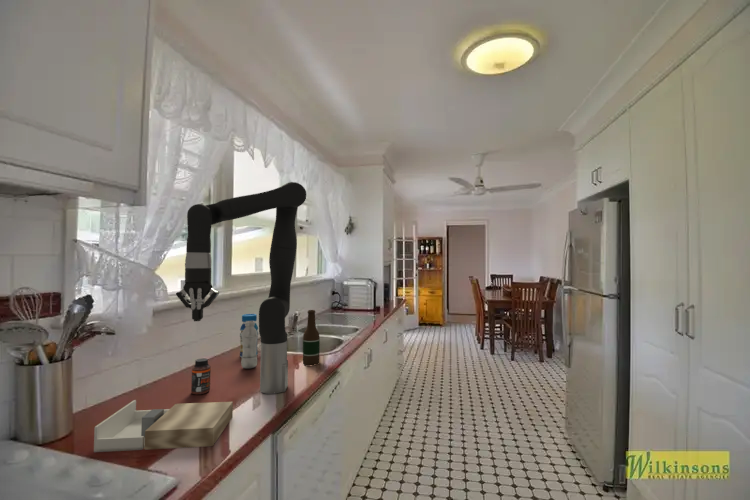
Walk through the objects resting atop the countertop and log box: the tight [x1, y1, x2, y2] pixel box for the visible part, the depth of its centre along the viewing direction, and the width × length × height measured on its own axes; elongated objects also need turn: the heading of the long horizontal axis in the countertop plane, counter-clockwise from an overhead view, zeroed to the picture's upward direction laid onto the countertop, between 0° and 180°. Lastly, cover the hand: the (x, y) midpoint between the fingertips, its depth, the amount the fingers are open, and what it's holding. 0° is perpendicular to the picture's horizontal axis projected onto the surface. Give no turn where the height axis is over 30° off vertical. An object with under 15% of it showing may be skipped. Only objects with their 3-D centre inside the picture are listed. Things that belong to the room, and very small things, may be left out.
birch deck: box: [144, 401, 234, 450], centre depth 93 cm, size 16×16×4 cm
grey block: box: [141, 408, 164, 437], centre depth 91 cm, size 5×5×3 cm
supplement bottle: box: [190, 357, 211, 396], centre depth 120 cm, size 6×6×11 cm
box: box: [93, 399, 170, 453], centre depth 91 cm, size 11×16×6 cm
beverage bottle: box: [239, 313, 259, 359], centre depth 166 cm, size 8×8×20 cm
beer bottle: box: [302, 309, 321, 366], centre depth 154 cm, size 8×8×24 cm
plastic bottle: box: [240, 321, 258, 370], centre depth 148 cm, size 6×7×20 cm
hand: (197, 320), depth 110 cm, fingers closed
